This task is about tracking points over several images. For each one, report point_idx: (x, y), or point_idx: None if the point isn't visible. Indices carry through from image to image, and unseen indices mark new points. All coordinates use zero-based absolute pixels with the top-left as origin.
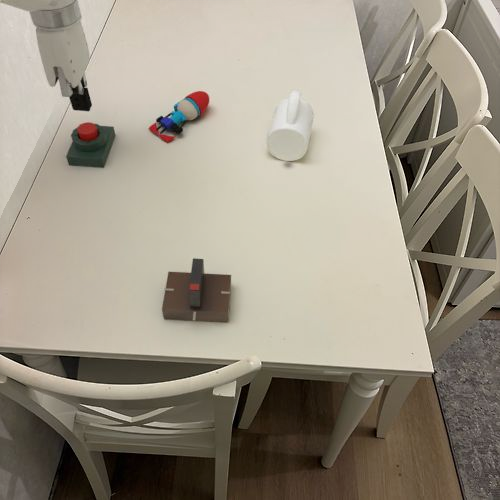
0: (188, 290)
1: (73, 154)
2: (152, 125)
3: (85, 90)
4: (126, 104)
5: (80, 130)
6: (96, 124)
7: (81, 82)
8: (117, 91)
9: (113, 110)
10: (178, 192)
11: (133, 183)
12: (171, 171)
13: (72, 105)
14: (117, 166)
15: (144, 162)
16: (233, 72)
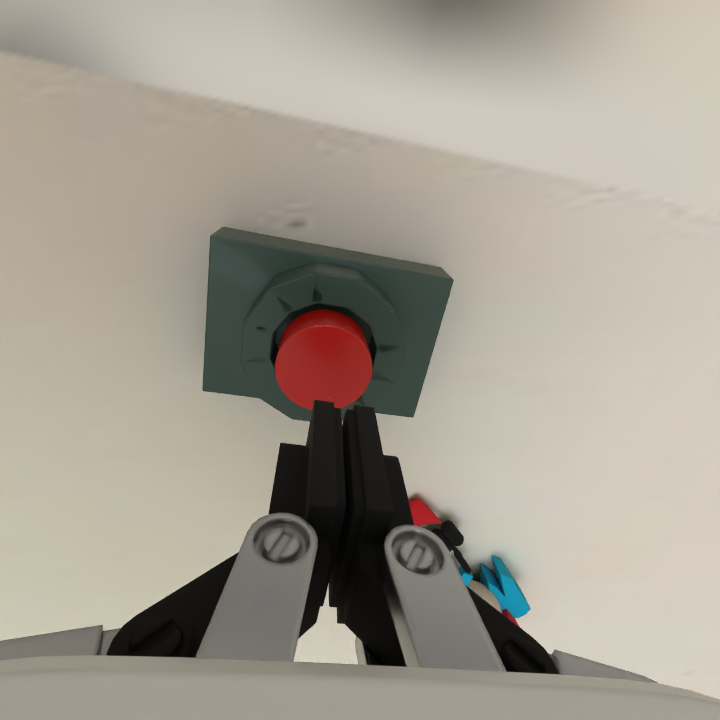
0: None
1: (227, 271)
2: (422, 516)
3: (334, 606)
4: (583, 419)
5: (305, 341)
6: (392, 382)
7: (372, 649)
8: (679, 384)
9: (561, 377)
10: (113, 573)
11: (136, 464)
12: (206, 555)
13: (312, 421)
14: (223, 412)
15: (247, 488)
16: (637, 665)
